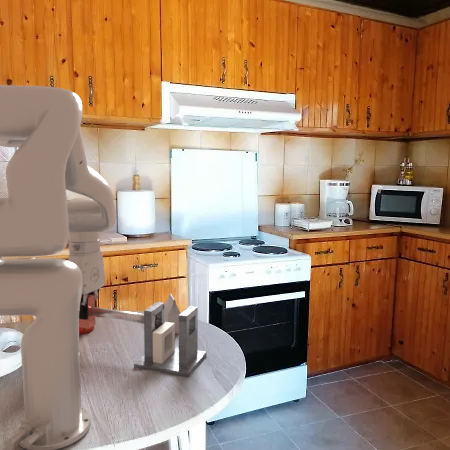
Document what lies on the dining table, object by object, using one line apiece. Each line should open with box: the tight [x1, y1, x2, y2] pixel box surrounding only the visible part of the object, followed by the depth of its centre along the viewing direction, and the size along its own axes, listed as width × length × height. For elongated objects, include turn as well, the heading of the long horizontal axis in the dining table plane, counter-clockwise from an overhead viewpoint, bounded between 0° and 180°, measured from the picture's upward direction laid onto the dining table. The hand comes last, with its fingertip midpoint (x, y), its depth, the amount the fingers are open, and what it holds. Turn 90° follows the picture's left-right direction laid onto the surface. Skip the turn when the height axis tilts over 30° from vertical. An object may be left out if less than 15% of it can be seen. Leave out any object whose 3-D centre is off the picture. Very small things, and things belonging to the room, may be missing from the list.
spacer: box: [153, 322, 176, 363], centre depth 105 cm, size 7×2×7 cm, turn 162°
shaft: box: [79, 294, 157, 329], centre depth 109 cm, size 3×21×8 cm, turn 72°
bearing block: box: [133, 301, 207, 378], centre depth 105 cm, size 12×14×14 cm
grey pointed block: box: [164, 293, 182, 334], centre depth 125 cm, size 4×7×10 cm, turn 18°
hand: (86, 315), depth 111 cm, fingers closed on shaft, 3 cm apart
